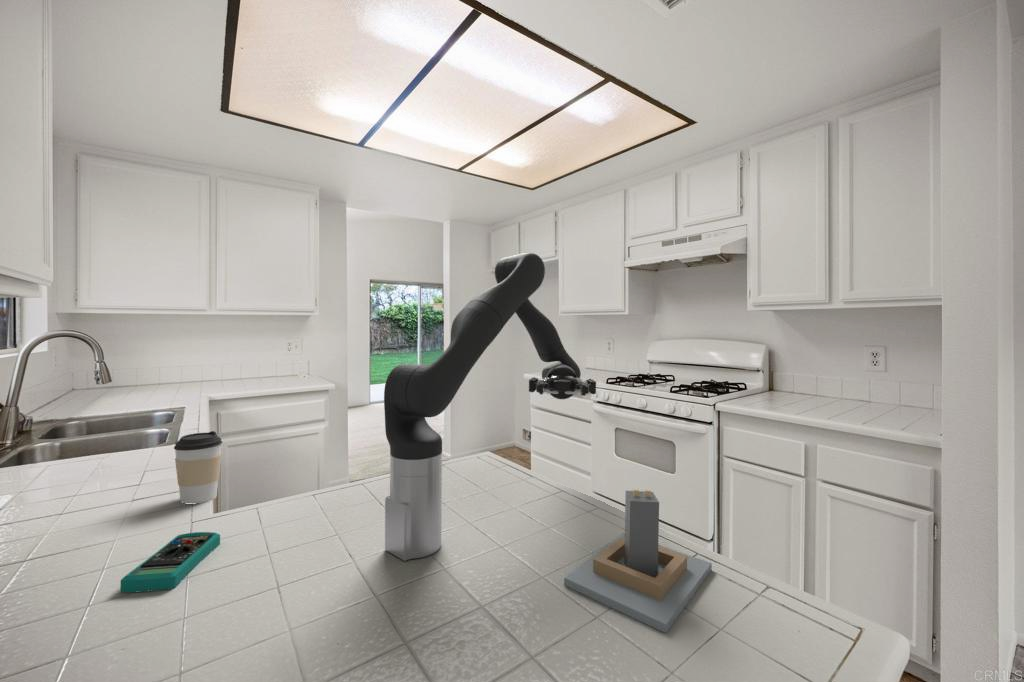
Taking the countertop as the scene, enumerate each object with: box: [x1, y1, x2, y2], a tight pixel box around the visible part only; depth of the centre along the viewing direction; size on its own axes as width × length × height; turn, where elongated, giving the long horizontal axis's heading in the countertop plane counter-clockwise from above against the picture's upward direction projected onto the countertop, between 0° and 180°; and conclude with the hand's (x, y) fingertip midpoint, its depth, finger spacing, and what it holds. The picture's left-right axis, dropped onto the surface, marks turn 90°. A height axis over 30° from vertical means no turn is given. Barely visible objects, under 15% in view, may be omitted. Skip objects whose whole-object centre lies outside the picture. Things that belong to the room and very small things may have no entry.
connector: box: [624, 488, 660, 578], centre depth 69 cm, size 4×4×13 cm
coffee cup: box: [173, 430, 223, 504], centre depth 99 cm, size 9×9×15 cm
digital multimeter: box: [120, 531, 221, 593], centre depth 71 cm, size 7×15×3 cm, turn 9°
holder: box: [563, 532, 713, 634], centre depth 69 cm, size 20×16×3 cm
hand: (562, 389), depth 86 cm, fingers open, 8 cm apart
